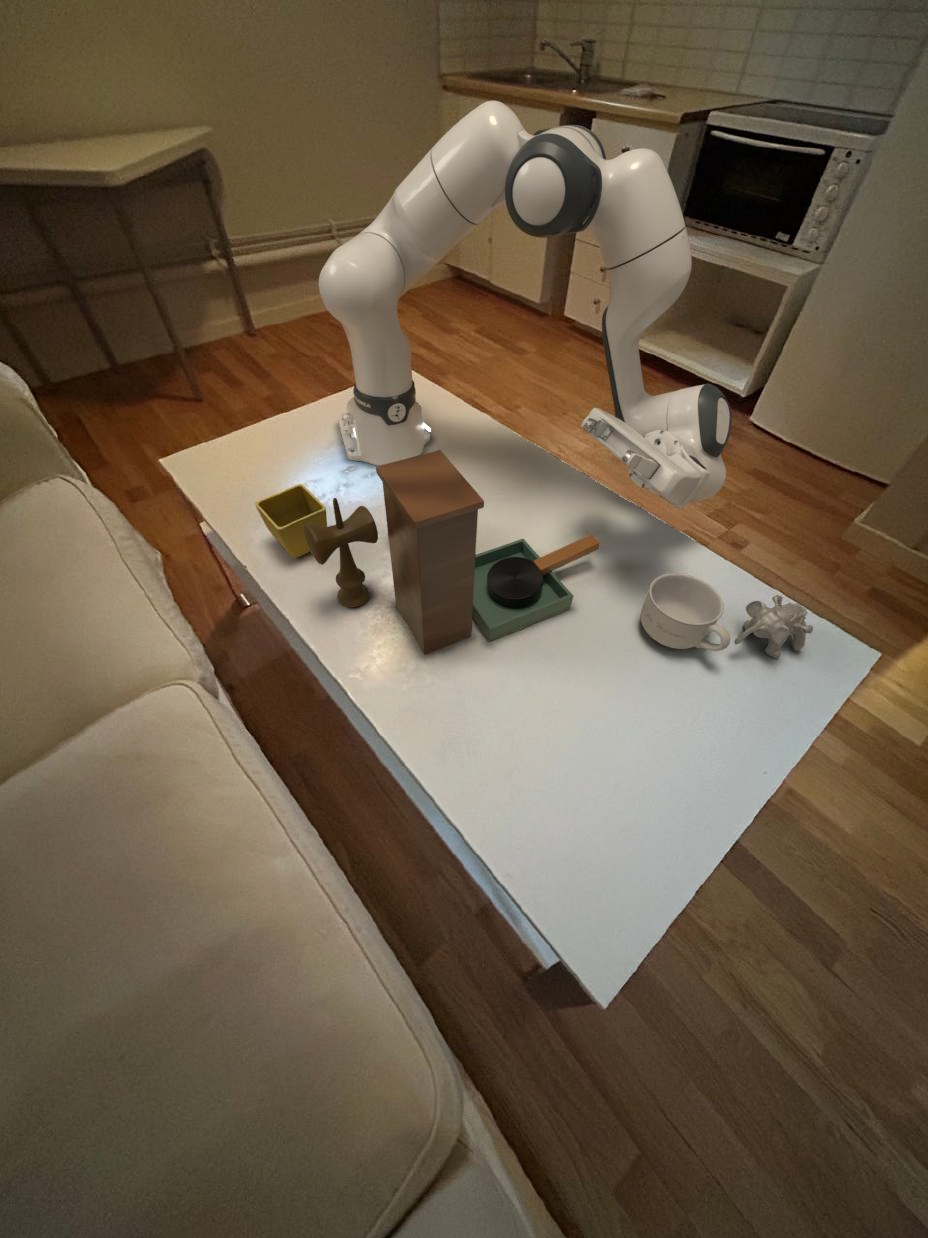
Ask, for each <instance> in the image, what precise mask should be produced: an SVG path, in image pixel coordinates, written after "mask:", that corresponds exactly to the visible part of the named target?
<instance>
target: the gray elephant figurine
mask: <svg viewBox="0 0 928 1238" xmlns="http://www.w3.org/2000/svg"><path fill="white" fill-rule="evenodd" d="M771 599H772V602H773V603H774V606H773V607H768V606H767V605H766V604H765V603H764V602H763V601H760V600H754V601H751V602H749V603H748V604H747V605H746V606H745V611H746V613H747V615H748V616H749V617H750V618H751V619H748V620H745V621H744V622H743V628H744V631H743V632H741V633H740V634H739V635H738V636H737V637H736V638H735V639H734V641H733V643H734V645H740V644H741V643H742V642H743V641H744V639H745V638H747V637H748V636H749V635H750V634H752V633H753V635H754V636H755V637H757V638H760V639H766V638H767V639H768V646H766V648H765V649H764V652H765V653H766V655H767V656H770V657H772V658H775V659H778V658H780V657H781V655H782V646H783V644H785V642H786V641H787V639H788V637H789V636H791V635H792V643H791V645H792V646H791V647H792V648H793V649H794V650H795V651H799V650H801V649H802V648H804V647H805V644H806V639H807V637H806V636H807V635H809V634H812V633H813V631H814V626H813V625H812V624H809V625H807V623H806V621H805V620H806V618H807V617H806V616H807V615H808V611H807V608H806V607H804V606H802V605H801V604H800V603H799V602H796V603H791V602H788V603H785V604H783V603H782V602H783V599H784V597H783V596H782V595H780V594H776V595H773V596H772V597H771Z"/></svg>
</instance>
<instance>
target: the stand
mask: <svg viewBox="0 0 928 1238" xmlns="http://www.w3.org/2000/svg"><path fill="white" fill-rule="evenodd" d="M375 472H376V475H377V476H378V477H379V479H380V480H381V482H382V490H383V498H384V499H383V501H384V508H385V517H386V525H387V537H388V546H389V553H390V555H389V556H390V564H391V573H392V582H393V591H394V600H395V607H396V608H397V610H398V612H399V613H400V616H401V618H402V619H403V620H404V622H405V624H406V626H407V627H408V629H409V631H410V632H411V634H412V636H413V637H414V639H415V641H416V643H417V645H418V646H419V648H420V650H421V651H422V653H423V655H427V654H430V653H432V652H435V651H437V650H441V649H442V648H444V647H448V646H451V645H452V644H455V643H457V642H460V641H463V640H465V639H468V638H470V637H472V625H473V618H472V610H473V592H474V574H475V555H476V553H477V535H478V517H479V510H481V509H484V507H485V500H484V499H483V498H482V497H481V496H480V494H479V493H478V492H477V490H475V488H474V487H473V486H472V485H471V484H470V482H469V481H468V480H467V479H466V478H465V477H464V475H462V473H461V472H460V471H459V470H458V468H456V466H455V465H454V464H453V463H452V462H451V461H450V459H449V458H448V457H447V456H446V455H445V454H444V452H443V451H442V449H437V450H434V451H430V452H426V453H423V454H422V453H421V454H420V455H418V456H414V457H411V458H407V459H403V460H399V461H396V462H392V463H388V464H384V465H381V466H378V465H376V466H375Z"/></svg>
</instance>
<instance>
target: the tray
mask: <svg viewBox="0 0 928 1238" xmlns="http://www.w3.org/2000/svg"><path fill="white" fill-rule="evenodd" d="M510 557H522V558H526V559H529V560H531V561H532V562H533V561H534V560H536V559H538V558H541V557H540V556H539V555H538V553H537V552H536V550H534V549H533V548H532V546H530V544H529V543H528V542H527V541H526V540H525V538H521V539H518V540H515V541H512V542H509V543H506V544H502V545H500V546H497V547H494V548H491V549H489V550H485V551H482V552H480V553H477V554H476V555H475V574H474V592H473V610H472V620H473V621H474V622H475V624H476V625H477V627H478V629H480V631H481V632H482V634H483V635H484V637H485V638H486V640H487V641H488V642H491V641H493V640H496V639H499V638H501V637H503V636H507V635H508V634H511V633H513V632H517V631H518V630H521V629H524V628H526V627H528V626H531V625H534V624H536V623H538V622H541V621H543V620H546V619H548V618H550V617H554V616H556V615H559V614H560V613H563V612H566V611H568V610H570V609H571V607H572V603H573V599H574V595H573V594H572V593H571V591H570V590H569V588H567V586H566V585H565V584H564V583H563V582H562V581H561V579H560V578H559V577H557V575H556V574H555V573H554V572H553V571H551V572H549V573H547V574H545V575H543V585H542V592H541V595H540V596H539V598H538V599H537V600H536V601H535V602H534V603H532V604H530V605H528V606H526V607H522V608H507V607H504V606H501V605H499V604H497V603H496V602H495V601H493V599H492V598H491V597H490V595H489V593H488V587H487V574H488V572H489V570H490V568H491V567H492V566H493V565H494V564H495V563H497V562H498V561H500V560H502V559H505V558H510Z"/></svg>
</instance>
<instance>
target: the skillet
mask: <svg viewBox="0 0 928 1238" xmlns="http://www.w3.org/2000/svg"><path fill="white" fill-rule="evenodd" d="M600 547H601V542H600V541H599V540H598V539H597V538H596V537H595V536H594V535H593V534H592V533H590V534H589V535H586V536H584V537H582V538H580V539H578V540H575V541H573V542H571V543H569V544H567V545H564V546H563V547H561V548H560V547H559V548H558V549H555V550H554V551H551V552H549V553H548V554H545V555H543V556H541V557H540V558H538V559H536V560H534V561H533V562H532V561H531V560H529V559H526V558H522V557H510V558H505V559H502V560H500V561H498V562H497V563H495V564H494V565H493V566H492V567H491V568H490V570H489V572H488V574H487V587H488V593H489V595H490V597H491V598H492V599H493V601H495V602H496V603H497V604H499V605H501V606H504V607H507V608H522V607H526V606H528V605H530V604H532V603H534V602H535V601H536V600H537V599H538V598H539V596H540V595H541V592H542V585H543V575H545V574H547V573H549V572H551V571H552V572H553V571H556V570H558V569H560V568H562V567H564V566H566V565H568V564H570V563H572V562H575V561H577V560H579V559H581V558H583V557H585V556H588V555H590V554H593V553H594V552H596V551H598V550H600Z"/></svg>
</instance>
